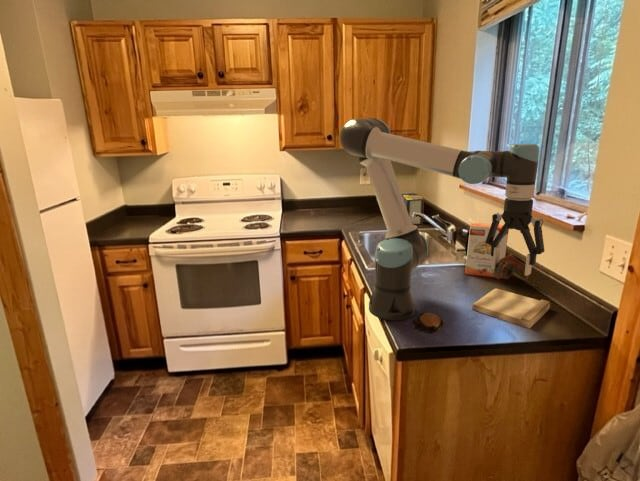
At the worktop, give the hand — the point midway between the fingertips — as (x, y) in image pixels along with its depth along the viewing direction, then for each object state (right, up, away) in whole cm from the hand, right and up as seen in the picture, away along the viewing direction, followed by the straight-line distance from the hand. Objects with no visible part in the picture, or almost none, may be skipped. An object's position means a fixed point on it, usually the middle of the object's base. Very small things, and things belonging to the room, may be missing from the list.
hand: (511, 270), depth 120 cm
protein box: (-1, +21, +126) cm, 127 cm away
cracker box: (+8, -5, +40) cm, 41 cm away
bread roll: (-25, -18, +2) cm, 31 cm away
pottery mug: (0, -3, +1) cm, 3 cm away
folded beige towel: (+5, -14, +10) cm, 17 cm away
